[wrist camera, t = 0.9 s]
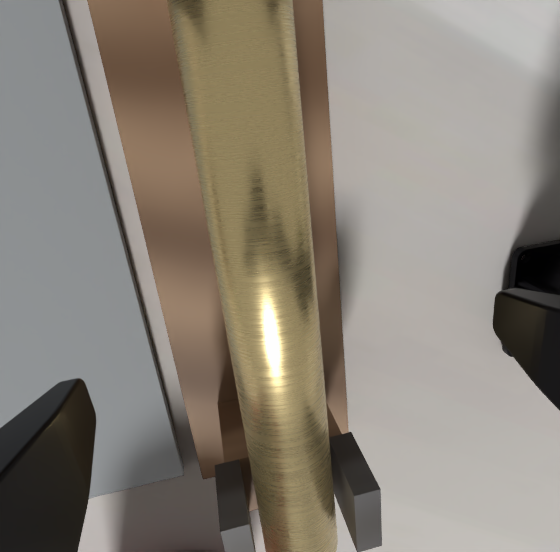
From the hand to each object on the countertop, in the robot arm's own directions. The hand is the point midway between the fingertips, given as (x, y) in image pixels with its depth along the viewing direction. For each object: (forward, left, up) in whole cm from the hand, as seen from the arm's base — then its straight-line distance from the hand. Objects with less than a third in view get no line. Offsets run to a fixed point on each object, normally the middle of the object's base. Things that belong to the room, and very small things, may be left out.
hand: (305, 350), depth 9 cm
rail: (0, 0, -6) cm, 6 cm away
